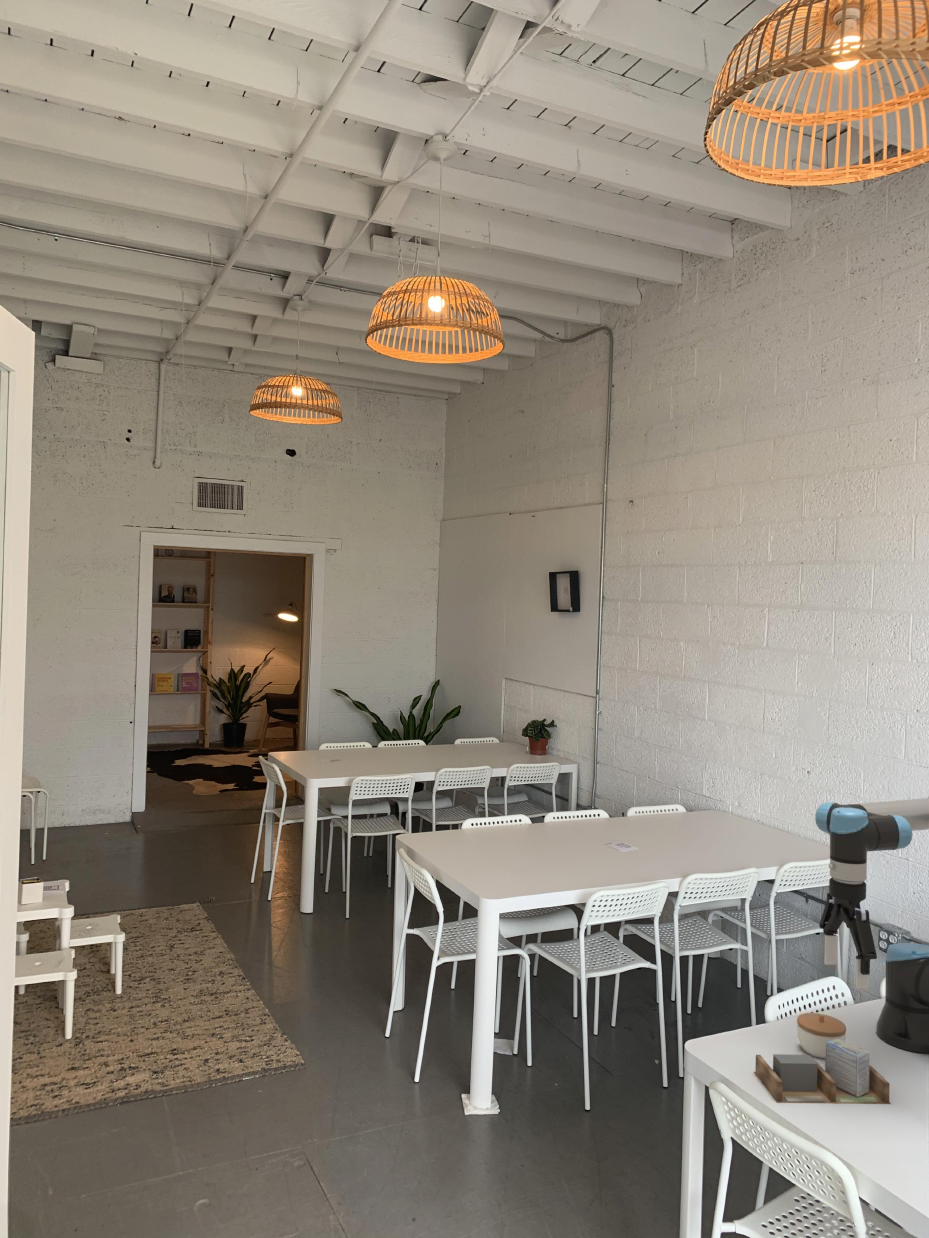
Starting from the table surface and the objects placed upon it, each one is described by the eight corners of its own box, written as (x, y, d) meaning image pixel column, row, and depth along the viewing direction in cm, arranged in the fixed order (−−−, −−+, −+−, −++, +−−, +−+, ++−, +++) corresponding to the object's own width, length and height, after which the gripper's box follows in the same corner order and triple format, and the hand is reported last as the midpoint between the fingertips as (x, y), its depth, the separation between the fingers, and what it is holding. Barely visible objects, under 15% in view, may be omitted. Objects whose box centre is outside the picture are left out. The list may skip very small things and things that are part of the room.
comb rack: (753, 1076, 197) (753, 1053, 197) (860, 1077, 198) (860, 1055, 198) (776, 1107, 184) (777, 1082, 184) (891, 1108, 185) (892, 1084, 185)
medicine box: (869, 1093, 189) (870, 1052, 190) (857, 1098, 187) (858, 1056, 187) (836, 1077, 196) (837, 1037, 196) (824, 1082, 193) (825, 1041, 194)
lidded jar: (849, 1069, 202) (851, 1027, 202) (800, 1062, 204) (801, 1021, 204) (839, 1048, 213) (840, 1008, 213) (792, 1042, 215) (793, 1003, 215)
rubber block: (808, 1082, 193) (809, 1054, 193) (816, 1091, 189) (817, 1063, 189) (772, 1081, 193) (773, 1054, 193) (779, 1091, 189) (780, 1063, 189)
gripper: (805, 864, 208) (803, 955, 207) (861, 896, 183) (859, 999, 182) (835, 864, 208) (834, 954, 208) (895, 896, 183) (894, 999, 183)
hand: (846, 975), depth 195 cm, fingers open, 13 cm apart
